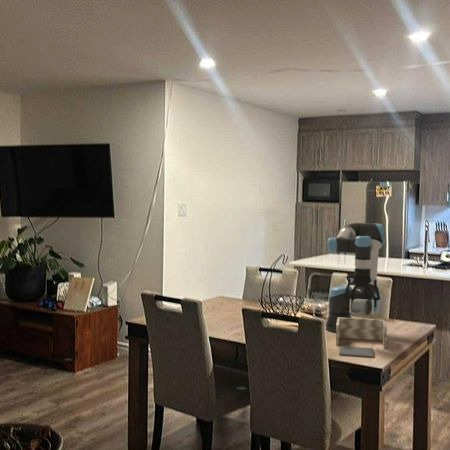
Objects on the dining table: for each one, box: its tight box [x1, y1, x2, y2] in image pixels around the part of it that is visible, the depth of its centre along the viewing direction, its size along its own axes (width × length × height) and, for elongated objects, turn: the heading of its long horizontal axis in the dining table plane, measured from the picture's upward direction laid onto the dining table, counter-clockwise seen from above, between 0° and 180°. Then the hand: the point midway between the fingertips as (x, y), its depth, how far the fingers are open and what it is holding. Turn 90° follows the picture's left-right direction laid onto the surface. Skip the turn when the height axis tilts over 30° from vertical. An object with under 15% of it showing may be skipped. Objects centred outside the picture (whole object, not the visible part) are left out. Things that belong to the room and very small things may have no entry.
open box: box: [335, 317, 388, 350], centre depth 278 cm, size 23×17×10 cm
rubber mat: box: [339, 345, 375, 359], centre depth 261 cm, size 15×13×1 cm
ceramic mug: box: [350, 299, 372, 317], centre depth 276 cm, size 11×8×8 cm
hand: (361, 313), depth 277 cm, fingers closed on ceramic mug, 10 cm apart
